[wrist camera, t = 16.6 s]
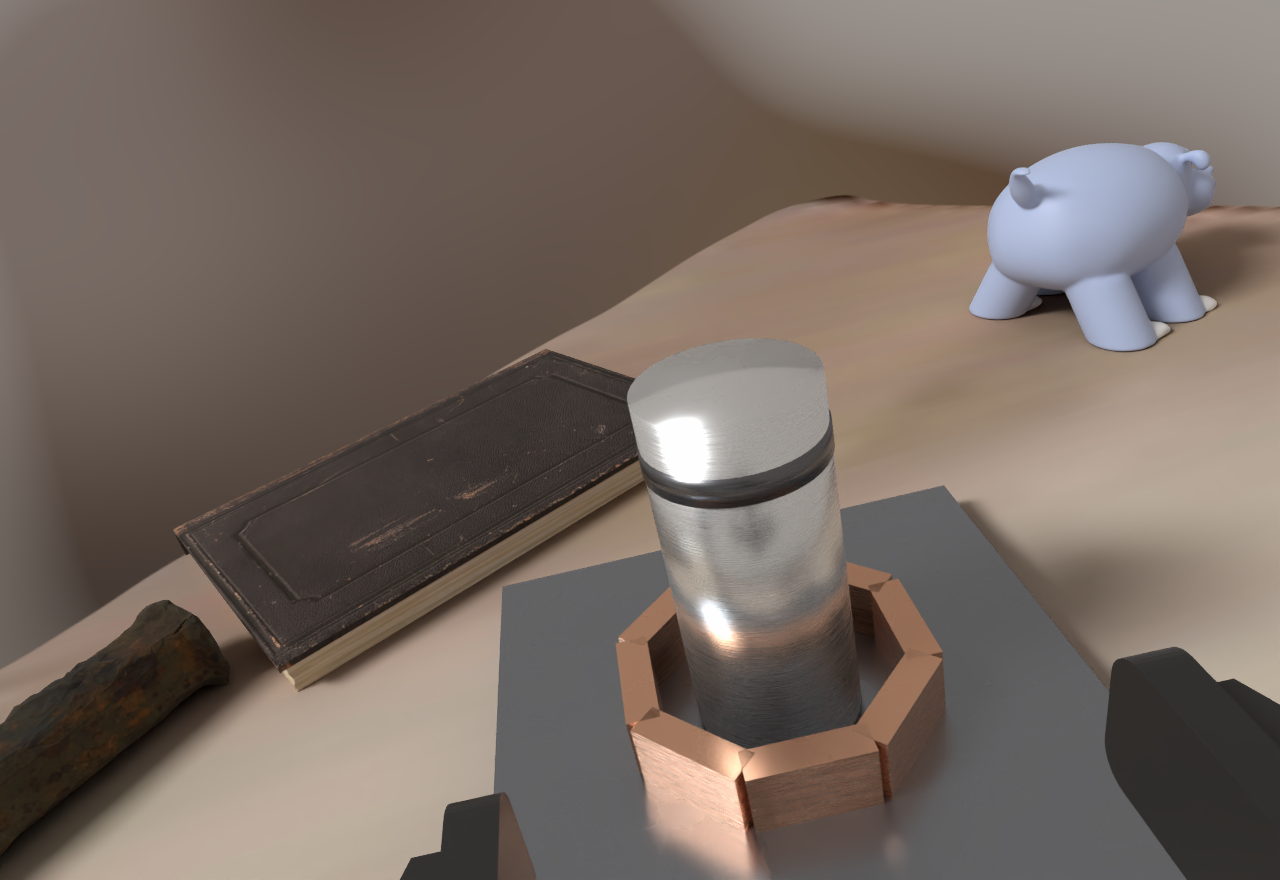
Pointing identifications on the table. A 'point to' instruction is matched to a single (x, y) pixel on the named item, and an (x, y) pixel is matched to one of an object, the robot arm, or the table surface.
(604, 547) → the table surface
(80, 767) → the hand tool
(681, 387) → the steel piston
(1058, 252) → the hippopotamus toy
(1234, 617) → the table surface
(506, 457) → the hardcover book
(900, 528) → the grey square base plate
